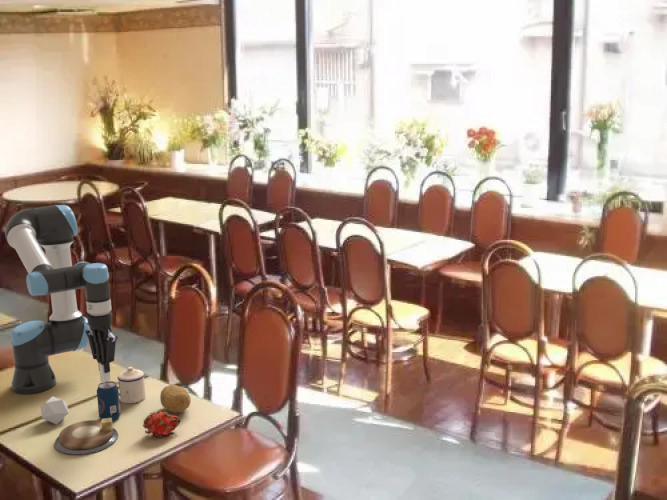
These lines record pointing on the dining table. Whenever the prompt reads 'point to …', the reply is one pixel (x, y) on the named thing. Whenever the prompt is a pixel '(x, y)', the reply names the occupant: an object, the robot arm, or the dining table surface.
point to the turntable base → (86, 451)
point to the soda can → (108, 400)
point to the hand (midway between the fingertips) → (105, 380)
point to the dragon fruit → (160, 423)
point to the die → (54, 410)
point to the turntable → (86, 434)
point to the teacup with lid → (131, 385)
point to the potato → (175, 399)
